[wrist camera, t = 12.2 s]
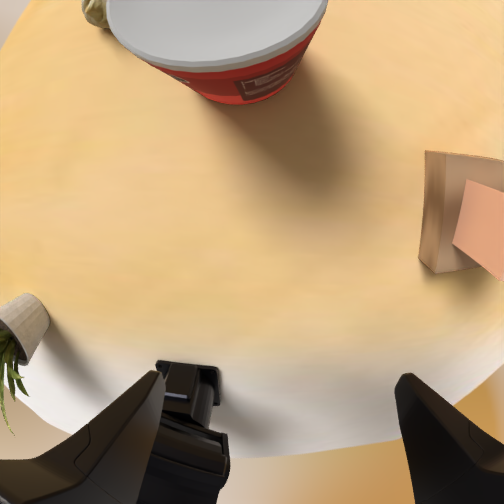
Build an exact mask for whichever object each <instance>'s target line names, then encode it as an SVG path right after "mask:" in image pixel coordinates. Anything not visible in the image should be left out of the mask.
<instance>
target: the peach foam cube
mask: <svg viewBox="0 0 504 504" xmlns="http://www.w3.org/2000/svg"><path fill="white" fill-rule="evenodd" d="M452 244H454V245H455V246H456V247H458V248H459V249H460V250H462V251H463V252H464V253H466V254H467V255H468V256H470V257H471V258H472V259H474V260H475V261H476V262H477V263H479V264H480V265H481V266H482V267H484V268H485V269H486V270H487V271H488V272H490V273H491V274H492V275H493V276H494V277H496V278H497V279H498V280H499V281H504V192H502V191H500V190H497V189H494V188H491V187H489V186H486V185H483V184H480V183H477V182H474V181H471V180H468V179H466V184H465V190H464V195H463V200H462V205H461V210H460V214H459V219H458V223H457V227H456V231H455V235H454V239H453V242H452Z"/></svg>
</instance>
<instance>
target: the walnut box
mask: <svg viewBox="0 0 504 504" xmlns="http://www.w3.org/2000/svg"><path fill="white" fill-rule="evenodd" d="M466 179H468V180H471V181H474V182H477V183H480V184H483V185H486V186H489V187H491V188H494V189H497V190H500V191H502V192H504V161H502V160H498V159H493V158H487V157H480V156H473V155H465V154H457V153H448V152H437V151H425V188H424V207H423V220H422V231H421V240H420V248H419V256H418V258H419V259H420V260H421V261H422V262H423V263H424V264H425V265H426V266H427V267H429V268H430V269H431V270H432V271H433V272H434V273H435V274H437V273H444V272H450V271H457V270H463V269H470V268H476V267H482V266H481V265H480V264H479V263H477V262H476V261H475V260H474V259H472V258H471V257H470V256H468V255H467V254H466V253H464V252H463V251H462V250H460V249H459V248H458V247H456V246H455V245H454V244H452V242H453V239H454V235H455V231H456V227H457V223H458V219H459V214H460V210H461V205H462V200H463V195H464V190H465V184H466Z"/></svg>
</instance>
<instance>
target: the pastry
mask: <svg viewBox="0 0 504 504" xmlns="http://www.w3.org/2000/svg"><path fill="white" fill-rule="evenodd" d="M106 3H107V0H82V11H83V13H84V15H85V18H86V20H87V21H88V22H89V23H90V24H92V25H94V26H97V27H101V28H109V29H110V26H109V23H108V20H107V12H106Z"/></svg>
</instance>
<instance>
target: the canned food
mask: <svg viewBox="0 0 504 504" xmlns="http://www.w3.org/2000/svg"><path fill="white" fill-rule="evenodd" d="M327 3H328V0H107V3H106V12H107V20H108V23H109V26H110V29H111V31H112V33H113V34H114V35H115V37H116V38H117V40H118V41H119V42H120V43H121V44H122V45H123V46H125V48H127V49H128V50H129V51H130V52H132V53H133V54H134V55H135V56H137V57H138V58H140V59H142V60H143V61H145V62H147V63H148V64H149V65H151V66H153V67H155V68H157V69H159V70H160V71H162V72H164V73H166V74H167V75H169V76H171V77H173V78H174V79H176V80H178V81H179V82H181V83H183V84H185V85H186V86H188V87H189V88H191V89H193V90H194V91H196V92H198V93H199V94H201V95H203V96H204V97H206V98H208V99H211V100H214V101H216V102H220V103H226V104H241V105H242V104H249V103H255V102H258V101H261V100H264V99H267V98H268V97H270V96H272V95H274V94H276V93H277V92H279V91H280V90H281V89H282V88H284V87H285V85H286V84H287V83H288V82H289V81H290V80H291V78H292V76H293V74H294V72H295V70H296V69H297V67H298V65H299V63H300V61H301V59H302V57H303V55H304V53H305V51H306V49H307V47H308V45H309V43H310V41H311V40H312V38H313V36H314V34H315V32H316V30H317V28H318V26H319V25H320V22H321V19H322V18H323V16H324V14H325V11H326V7H327Z"/></svg>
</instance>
